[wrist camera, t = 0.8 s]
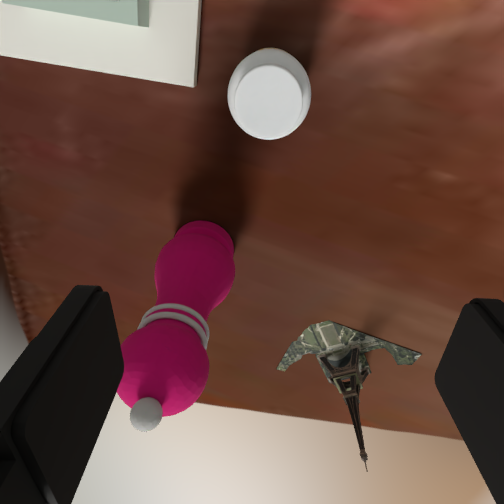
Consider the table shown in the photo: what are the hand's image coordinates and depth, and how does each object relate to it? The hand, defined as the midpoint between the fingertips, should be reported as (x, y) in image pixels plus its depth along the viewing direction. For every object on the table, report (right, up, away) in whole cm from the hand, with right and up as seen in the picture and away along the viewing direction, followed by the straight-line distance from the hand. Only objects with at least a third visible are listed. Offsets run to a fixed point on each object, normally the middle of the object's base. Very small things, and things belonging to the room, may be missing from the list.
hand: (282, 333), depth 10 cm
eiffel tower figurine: (+11, -11, +35) cm, 38 cm away
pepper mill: (-6, +3, +27) cm, 28 cm away
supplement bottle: (+1, +16, +19) cm, 25 cm away
